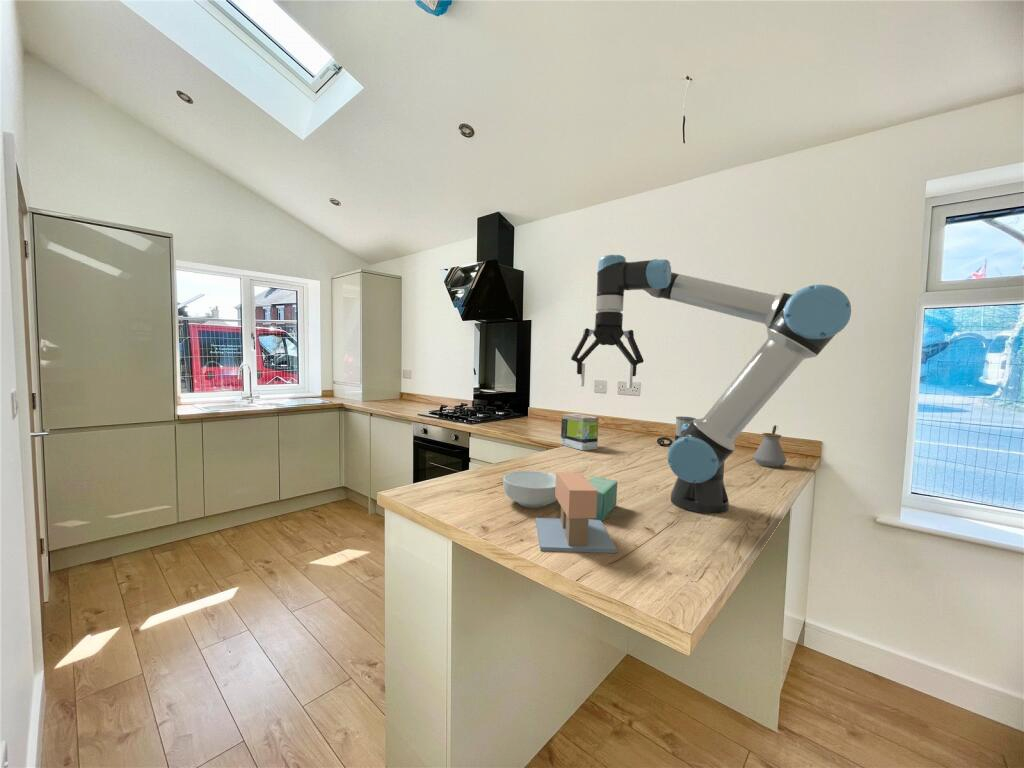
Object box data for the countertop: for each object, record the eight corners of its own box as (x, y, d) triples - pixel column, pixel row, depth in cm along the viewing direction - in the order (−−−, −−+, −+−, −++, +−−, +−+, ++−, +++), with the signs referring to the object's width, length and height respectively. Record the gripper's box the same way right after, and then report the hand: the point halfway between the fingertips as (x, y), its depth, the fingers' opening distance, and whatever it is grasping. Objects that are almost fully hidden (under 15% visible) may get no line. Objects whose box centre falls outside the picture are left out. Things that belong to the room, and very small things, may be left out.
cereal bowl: (547, 519, 105) (548, 491, 104) (491, 505, 113) (491, 480, 112) (571, 500, 120) (572, 476, 119) (520, 489, 128) (521, 466, 127)
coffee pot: (784, 470, 163) (787, 432, 162) (750, 465, 170) (753, 428, 169) (788, 461, 180) (791, 426, 179) (758, 456, 187) (760, 423, 186)
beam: (579, 496, 102) (580, 472, 102) (596, 518, 88) (597, 490, 88) (555, 496, 102) (556, 472, 101) (568, 518, 88) (569, 490, 87)
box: (574, 515, 108) (576, 487, 108) (591, 501, 120) (592, 475, 120) (602, 521, 105) (604, 492, 104) (616, 506, 117) (618, 480, 116)
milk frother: (697, 451, 195) (699, 419, 194) (663, 449, 195) (665, 418, 194) (686, 444, 209) (688, 415, 208) (654, 443, 209) (656, 414, 208)
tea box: (598, 449, 191) (599, 417, 190) (582, 451, 185) (583, 418, 184) (575, 442, 203) (576, 412, 203) (559, 444, 198) (561, 413, 197)
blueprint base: (599, 522, 103) (601, 496, 103) (616, 552, 88) (618, 521, 87) (535, 520, 103) (536, 493, 103) (540, 550, 87) (541, 518, 87)
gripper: (648, 315, 122) (644, 387, 123) (563, 312, 122) (560, 384, 123) (657, 312, 115) (653, 389, 116) (567, 309, 114) (563, 386, 116)
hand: (605, 387), depth 119 cm, fingers open, 13 cm apart
